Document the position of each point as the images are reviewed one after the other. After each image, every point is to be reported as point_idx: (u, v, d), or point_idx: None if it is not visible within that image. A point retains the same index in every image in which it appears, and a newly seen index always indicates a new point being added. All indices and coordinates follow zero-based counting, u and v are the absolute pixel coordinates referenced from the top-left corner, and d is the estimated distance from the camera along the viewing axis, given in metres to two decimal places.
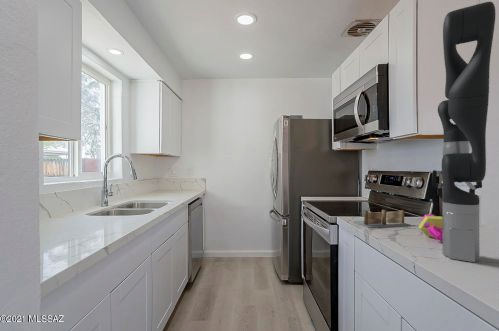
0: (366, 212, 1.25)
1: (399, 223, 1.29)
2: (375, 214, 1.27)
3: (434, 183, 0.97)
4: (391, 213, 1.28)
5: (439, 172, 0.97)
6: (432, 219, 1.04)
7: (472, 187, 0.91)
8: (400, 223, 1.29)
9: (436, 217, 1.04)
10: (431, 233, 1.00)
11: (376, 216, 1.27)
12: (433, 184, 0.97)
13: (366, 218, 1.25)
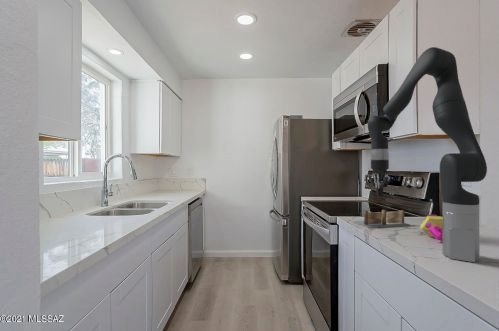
0: (366, 212, 1.25)
1: (399, 223, 1.29)
2: (375, 214, 1.27)
3: None
4: (391, 213, 1.28)
5: None
6: (433, 219, 1.04)
7: None
8: (400, 223, 1.29)
9: (438, 217, 1.04)
10: (432, 233, 1.00)
11: (376, 216, 1.27)
12: None
13: (366, 218, 1.25)
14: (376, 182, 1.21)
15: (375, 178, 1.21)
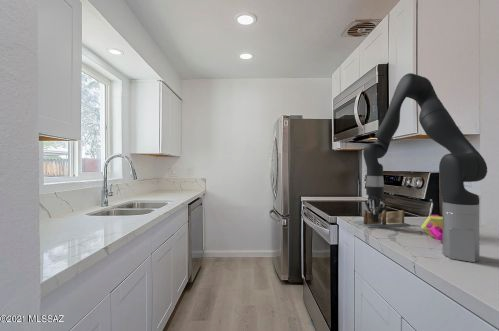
0: (366, 212, 1.26)
1: (399, 223, 1.29)
2: None
3: None
4: (391, 213, 1.28)
5: None
6: (435, 219, 1.04)
7: None
8: (400, 223, 1.29)
9: (439, 217, 1.04)
10: (432, 233, 1.00)
11: None
12: None
13: (365, 218, 1.26)
14: (371, 208, 1.24)
15: (370, 204, 1.24)
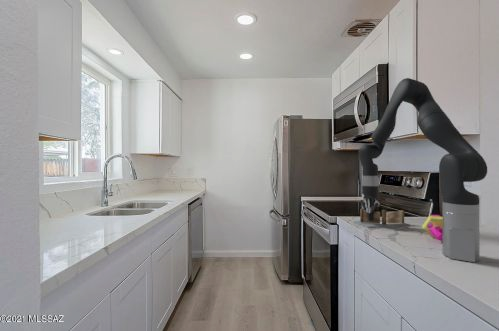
0: (361, 210, 1.31)
1: (399, 223, 1.29)
2: None
3: None
4: (391, 213, 1.28)
5: None
6: (435, 219, 1.04)
7: None
8: (400, 223, 1.29)
9: (440, 217, 1.04)
10: (432, 233, 1.00)
11: None
12: None
13: (361, 216, 1.31)
14: (367, 207, 1.28)
15: (366, 203, 1.28)
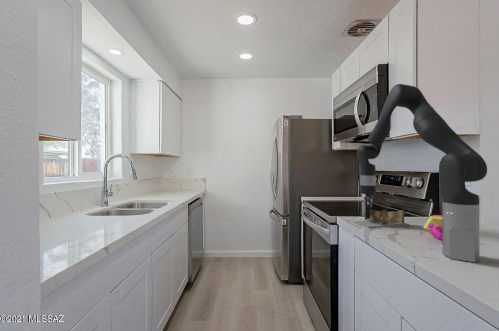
0: None
1: (399, 223, 1.29)
2: (374, 212, 1.32)
3: (370, 208, 1.30)
4: (391, 213, 1.28)
5: (369, 200, 1.28)
6: (436, 219, 1.03)
7: None
8: (400, 223, 1.29)
9: (441, 217, 1.03)
10: (433, 233, 1.00)
11: (374, 214, 1.32)
12: (370, 209, 1.30)
13: None
14: (364, 205, 1.34)
15: (364, 201, 1.34)
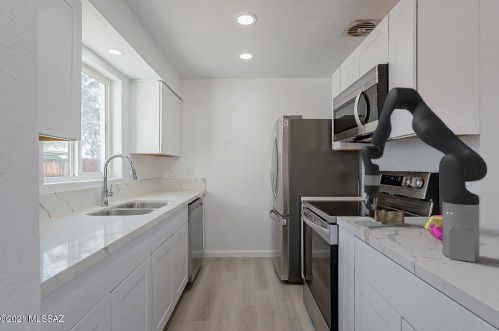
0: None
1: (399, 223, 1.29)
2: (378, 212, 1.33)
3: (371, 207, 1.33)
4: (391, 213, 1.28)
5: (368, 199, 1.32)
6: (437, 219, 1.03)
7: (374, 208, 1.34)
8: (400, 223, 1.29)
9: (442, 218, 1.03)
10: (433, 233, 1.00)
11: (378, 214, 1.33)
12: (371, 208, 1.32)
13: None
14: None
15: None
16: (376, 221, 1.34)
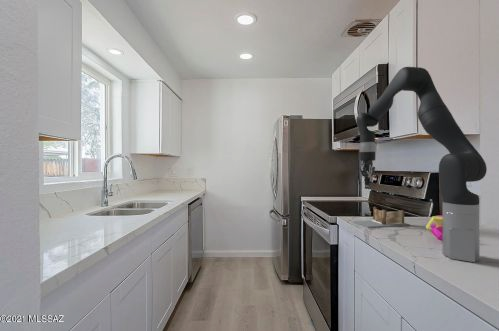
0: (373, 207, 1.38)
1: (399, 223, 1.29)
2: (378, 212, 1.33)
3: (367, 174, 1.32)
4: (391, 213, 1.28)
5: (364, 166, 1.31)
6: (438, 220, 1.03)
7: (370, 176, 1.34)
8: (400, 223, 1.29)
9: None
10: (433, 233, 1.00)
11: (378, 214, 1.33)
12: (367, 175, 1.32)
13: (373, 213, 1.38)
14: None
15: None
16: (376, 221, 1.34)
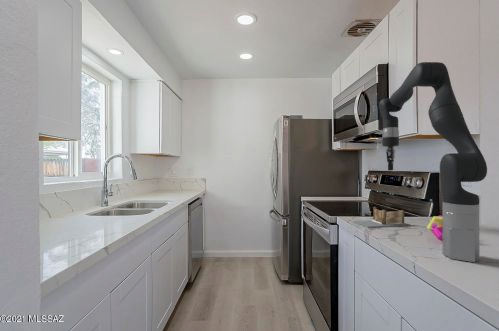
0: (373, 207, 1.38)
1: (399, 223, 1.29)
2: (378, 212, 1.33)
3: (392, 159, 1.32)
4: (391, 213, 1.28)
5: None
6: (439, 220, 1.03)
7: (393, 161, 1.34)
8: (400, 223, 1.29)
9: None
10: (434, 233, 1.00)
11: (378, 214, 1.33)
12: (392, 160, 1.32)
13: (373, 213, 1.38)
14: None
15: None
16: (376, 221, 1.34)
